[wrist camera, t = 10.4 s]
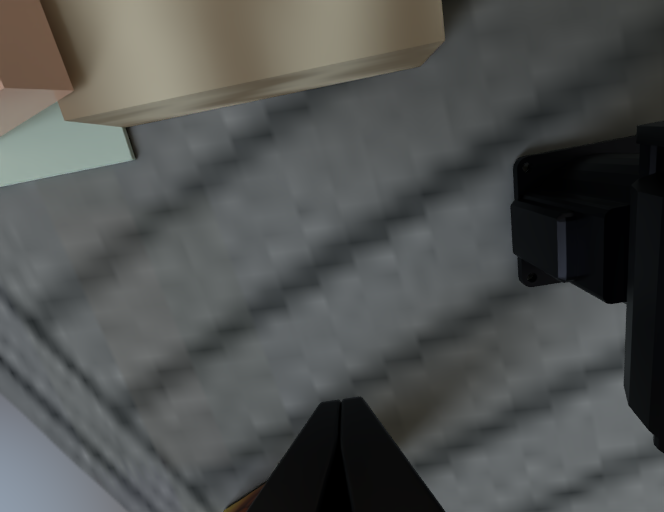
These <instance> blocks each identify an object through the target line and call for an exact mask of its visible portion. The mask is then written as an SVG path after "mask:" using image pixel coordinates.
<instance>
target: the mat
mask: <svg viewBox="0 0 664 512" xmlns="http://www.w3.org/2000/svg"><path fill="white" fill-rule="evenodd" d="M132 160H136V159H135V156H134V153H133V149H132V146H131V143H130V140H129V137H128V134H127V131H126V128H124V127H115V126H106V125H97V124H88V123H79V122H70V121H64V118H63V115H62V113H61V110H60V107H59V104H58V102H55V103H54V104H52V105H50V106H49V107H47V108H46V109H44V110H42V111H41V112H39V113H38V114H36V115H34V116H33V117H31V118H30V119H28V120H26V121H25V122H23V123H22V124H20V125H18V126H17V127H15V128H14V129H12V130H10V131H9V132H7V133H6V134H4V135H2V136H1V137H0V187H3V186H8V185H13V184H18V183H23V182H28V181H33V180H38V179H43V178H48V177H53V176H58V175H63V174H68V173H73V172H77V171H82V170H87V169H92V168H97V167H102V166H107V165H112V164H117V163H122V162H127V161H132Z"/></svg>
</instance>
